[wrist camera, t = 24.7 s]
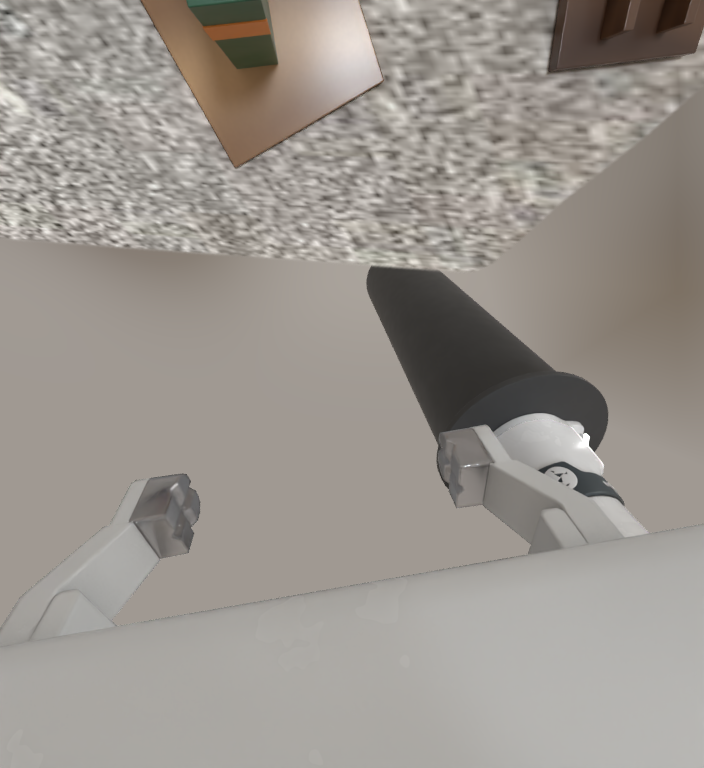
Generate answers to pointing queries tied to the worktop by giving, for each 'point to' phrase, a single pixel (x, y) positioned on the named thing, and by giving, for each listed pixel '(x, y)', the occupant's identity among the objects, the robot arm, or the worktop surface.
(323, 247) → the worktop surface
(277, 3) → the cork mat
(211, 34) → the book
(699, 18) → the book rack
